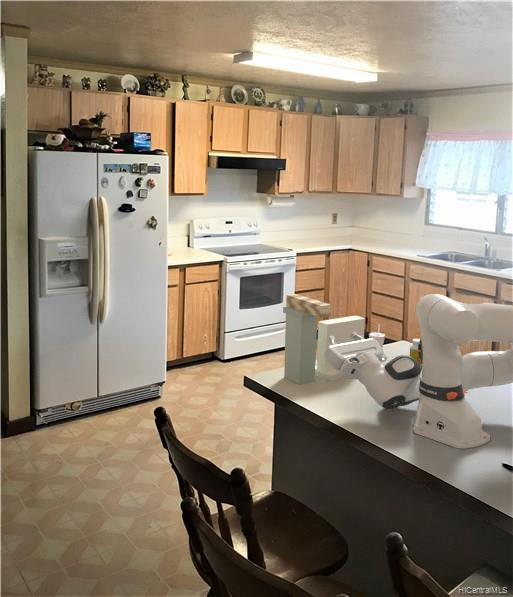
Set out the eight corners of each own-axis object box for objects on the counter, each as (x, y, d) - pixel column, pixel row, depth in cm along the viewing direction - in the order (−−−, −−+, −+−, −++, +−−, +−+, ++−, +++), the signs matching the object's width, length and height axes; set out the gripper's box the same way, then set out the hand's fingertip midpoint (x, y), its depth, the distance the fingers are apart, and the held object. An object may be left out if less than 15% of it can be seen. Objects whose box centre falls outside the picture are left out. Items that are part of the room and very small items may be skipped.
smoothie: (385, 360, 254) (387, 326, 251) (369, 360, 254) (370, 325, 251) (382, 355, 260) (384, 322, 257) (366, 355, 260) (368, 321, 257)
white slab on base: (370, 371, 239) (373, 320, 235) (329, 381, 229) (331, 326, 224) (349, 363, 249) (351, 313, 245) (308, 371, 238) (310, 319, 234)
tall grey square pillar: (317, 381, 228) (320, 310, 222) (299, 385, 223) (301, 313, 218) (299, 373, 237) (301, 304, 231) (281, 376, 232) (283, 307, 227)
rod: (330, 316, 215) (331, 304, 214) (321, 317, 213) (321, 305, 212) (295, 304, 231) (295, 293, 230) (286, 305, 229) (286, 295, 228)
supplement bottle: (407, 364, 248) (408, 340, 246) (410, 361, 253) (412, 337, 251) (421, 367, 246) (423, 342, 244) (424, 363, 251) (426, 339, 249)
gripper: (393, 353, 203) (368, 324, 212) (344, 363, 192) (320, 332, 201) (385, 367, 207) (361, 337, 215) (336, 378, 196) (313, 346, 204)
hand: (341, 335), depth 208 cm, fingers open, 8 cm apart
